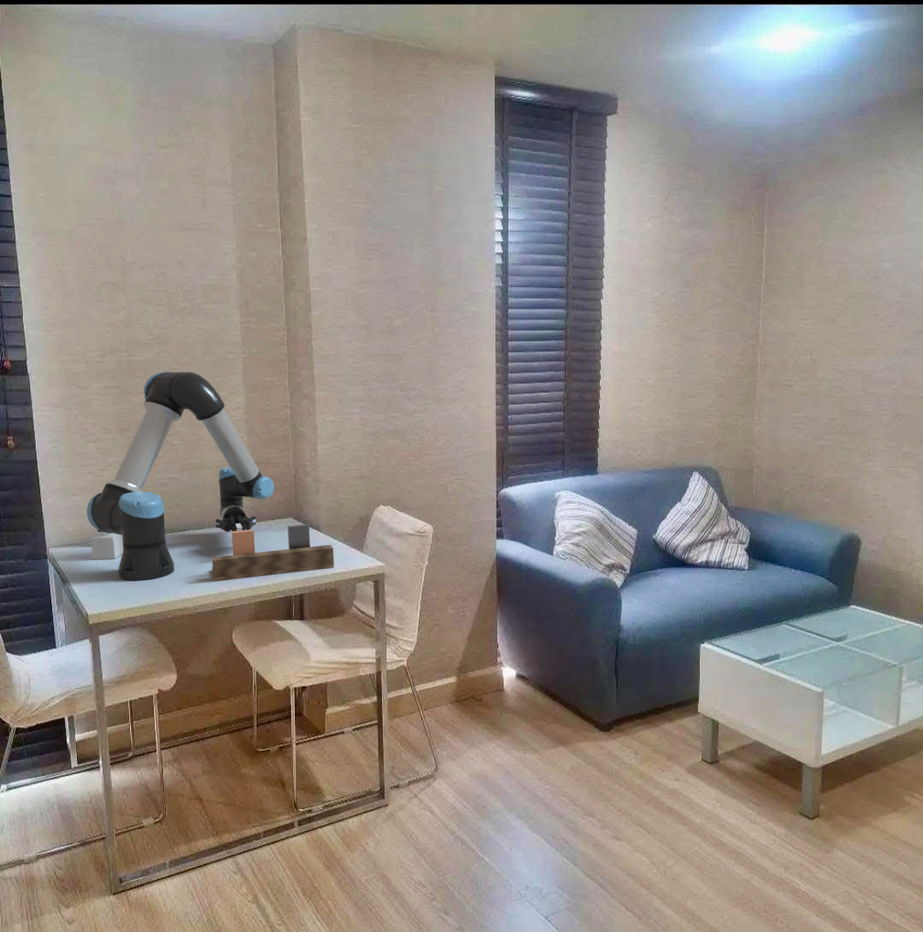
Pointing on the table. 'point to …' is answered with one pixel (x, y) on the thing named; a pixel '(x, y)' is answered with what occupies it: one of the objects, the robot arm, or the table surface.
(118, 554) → the medicine bottle
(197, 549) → the table surface
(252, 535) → the terracotta key
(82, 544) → the table surface
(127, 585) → the table surface
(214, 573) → the brown piece
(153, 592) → the table surface
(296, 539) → the grey rectangular slab
